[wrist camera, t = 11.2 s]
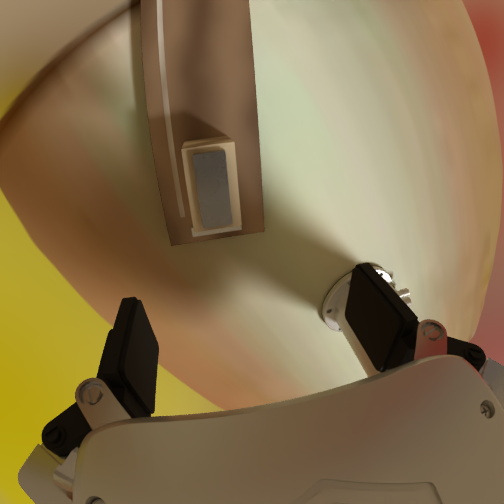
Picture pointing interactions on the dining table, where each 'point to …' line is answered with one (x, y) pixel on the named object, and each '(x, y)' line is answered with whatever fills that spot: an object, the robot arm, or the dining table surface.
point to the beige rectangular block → (212, 183)
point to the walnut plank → (201, 102)
